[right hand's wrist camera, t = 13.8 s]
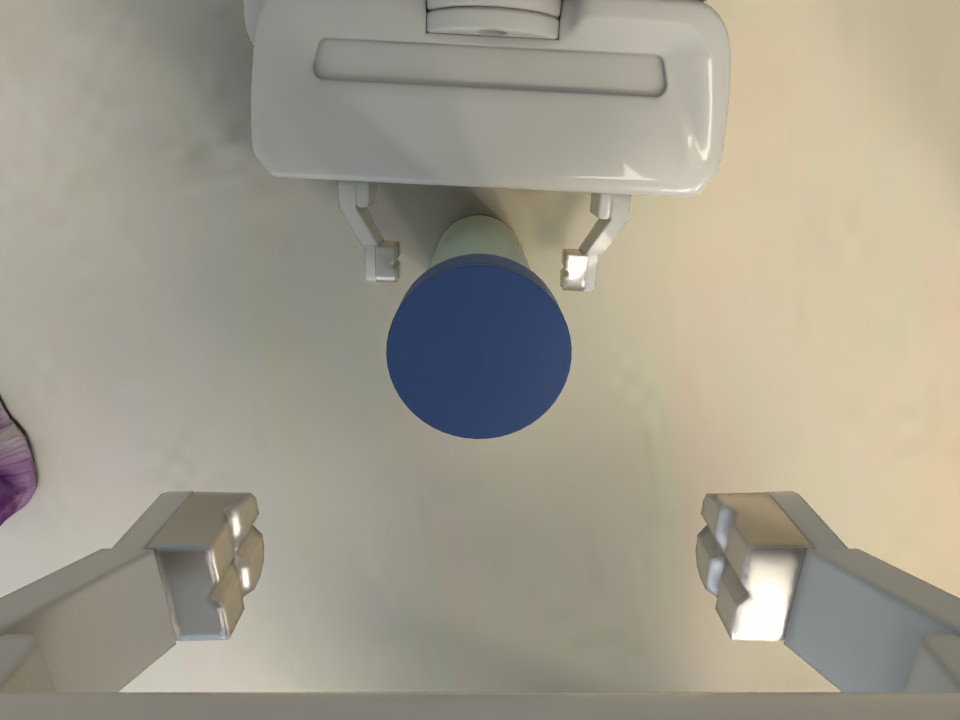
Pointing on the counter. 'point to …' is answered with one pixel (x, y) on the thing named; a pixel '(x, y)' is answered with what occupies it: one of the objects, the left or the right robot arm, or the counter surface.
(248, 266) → the counter surface
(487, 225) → the jar
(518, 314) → the lid
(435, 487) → the counter surface
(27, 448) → the figurine
